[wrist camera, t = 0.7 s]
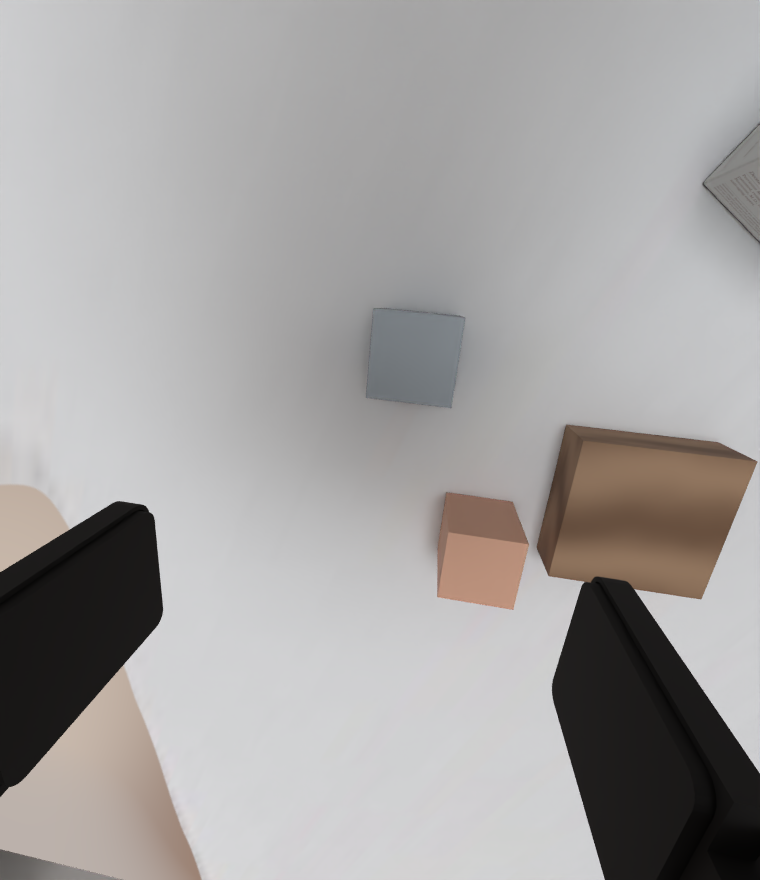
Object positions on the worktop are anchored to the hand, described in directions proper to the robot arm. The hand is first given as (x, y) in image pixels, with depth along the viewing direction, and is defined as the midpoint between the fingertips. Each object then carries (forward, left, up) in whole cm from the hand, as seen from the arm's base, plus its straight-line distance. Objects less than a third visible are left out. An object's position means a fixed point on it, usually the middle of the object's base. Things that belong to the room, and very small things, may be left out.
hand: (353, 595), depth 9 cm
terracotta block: (+10, +6, -22) cm, 25 cm away
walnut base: (+6, +16, -23) cm, 28 cm away
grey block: (-3, 0, -22) cm, 22 cm away
